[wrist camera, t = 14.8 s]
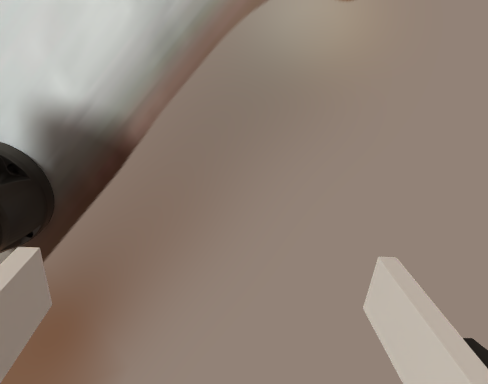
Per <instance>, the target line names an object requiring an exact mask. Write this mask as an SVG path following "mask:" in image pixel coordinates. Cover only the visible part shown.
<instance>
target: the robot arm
mask: <svg viewBox="0 0 488 384" xmlns="http://www.w3.org/2000/svg"><path fill="white" fill-rule="evenodd" d="M53 209H54V197H53V192H52V189H51V186H50V183H49V181H48V179H47V178H46V176H45V175H44V173H43V172H42V170H41V169H40V168H39V167H38V166H37V165H36V164H35V163H34V162H33V161H32V160H31V159H30V158H29V157H27V156H26V155H25V154H23V153H22V152H20V151H19V150H17V149H15V148H13V147H11V146H9V145H6V144H4V143H1V142H0V253H2V252H4V251H7V250H9V249H12V248H14V247H17V246H19V245H21V244H24V243H26V242H28V241H29V240H31V239H32V238H34V237H35V236H36V235H37V234H38V233H39V232H40V231H41V230H42V229H43V228H44V227H45V226H46V225H47V223H48V222H49V220H50V218H51V216H52V213H53ZM51 306H52V302H51V297H50V293H49V288H48V283H47V278H46V274H45V269H44V265H43V260H42V255H41V251H40V248H38V247H18V248H17V249H16V250H14V251H13V252H12V253H11V254H10V255H9V256H8V257H7V258H6V259H5V260H4V261H3V262H2V263H1V264H0V383H1V381H2V380H3V378H4V377H5V375H6V374H7V372H8V370H9V369H10V368H11V366H12V365H13V363H14V362H15V360H16V359H17V357H18V355H19V354H20V352H21V351H22V350H23V348H24V347H25V345H26V343H27V342H28V340H29V339H30V337H31V336H32V334H33V333H34V331H35V330H36V328H37V327H38V325H39V324H40V322H41V321H42V319H43V318H44V316H45V315H46V313H47V312H48V310H49V308H50V307H51ZM363 309H364V311H365V313H366V315H367V317H368V319H369V321H370V323H371V324H372V326H373V328H374V330H375V332H376V334H377V336H378V337H379V339H380V341H381V343H382V345H383V346H384V349H385V351H386V352H387V354H388V356H389V358H390V360H391V362H392V364H393V366H394V367H395V369H396V371H397V373H398V375H399V377H400V379H401V380H402V382H403V384H488V350H487V349H485V348H484V347H483V346H481V345H480V344H479V343H477V342H476V341H475V340H474V339H472V338H462V337H461V336H460V334H459V333H458V332H457V331H456V330H455V328H454V327H453V326H452V325H451V323H450V322H449V321H448V320H447V319H446V318H445V316H444V315H443V314H442V313H441V311H440V310H439V309H438V308H437V306H436V305H435V304H434V303H433V302H432V301H431V299H430V298H429V297H428V295H427V294H426V293H425V292H424V291H423V289H422V288H421V287H420V286H419V285H418V283H417V282H416V281H415V280H414V278H413V277H412V276H411V275H410V273H409V272H408V271H407V270H406V269H405V267H404V266H403V265H402V264H401V263H400V261H399V260H398V259H397V258H396V257H378V260H377V263H376V266H375V270H374V273H373V277H372V280H371V284H370V287H369V290H368V294H367V297H366V300H365V304H364V307H363Z"/></svg>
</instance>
